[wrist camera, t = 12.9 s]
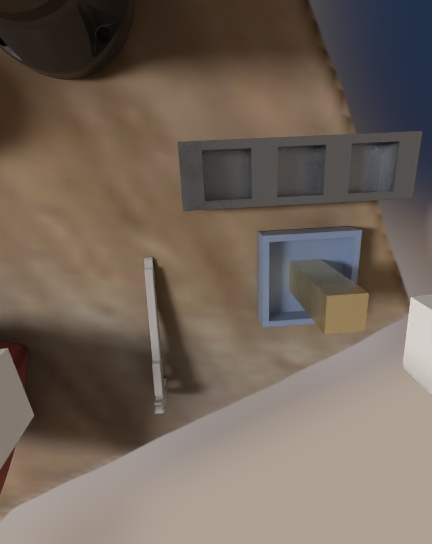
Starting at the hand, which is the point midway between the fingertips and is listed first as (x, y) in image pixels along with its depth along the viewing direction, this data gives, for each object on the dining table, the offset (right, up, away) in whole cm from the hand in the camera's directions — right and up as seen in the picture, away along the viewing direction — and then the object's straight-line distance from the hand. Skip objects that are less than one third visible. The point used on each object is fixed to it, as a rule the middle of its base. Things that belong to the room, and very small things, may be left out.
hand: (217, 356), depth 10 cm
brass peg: (+12, +2, +30) cm, 33 cm away
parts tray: (+12, +3, +31) cm, 33 cm away
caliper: (-8, -5, +32) cm, 34 cm away
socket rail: (+9, +15, +27) cm, 32 cm away
